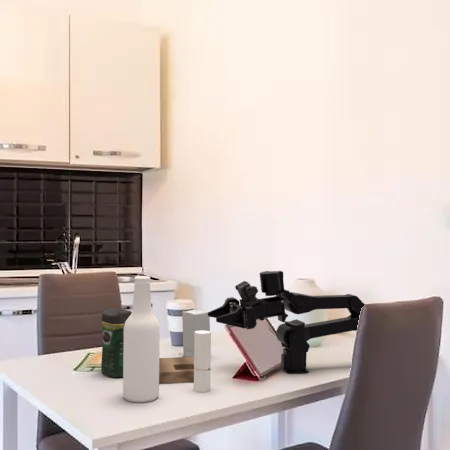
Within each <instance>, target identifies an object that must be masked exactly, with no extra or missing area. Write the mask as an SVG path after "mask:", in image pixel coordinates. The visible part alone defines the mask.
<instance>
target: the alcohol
mask: <svg viewBox="0 0 450 450" xmlns="http://www.w3.org/2000/svg"><path fill="white" fill-rule="evenodd" d="M133 279H134V282H133V284H134V287H133V288H134V289H133V297H132V298H133V299H132V300H133V301H132V309H131V312H132V313H131V315H130V316H129V317H128V319H127V320H126V322H125V325H124V353H123V377H122V378H123V379H122V381H123V382H122V384H123V385H122V395H123V398H124V399H125V400H126V401H128V402H131V403H136V404H138V403H142V404H143V403H149V402H152V401H155V400H157V399H158V396H159V395H160V384H159V358H160V331H161V330H160V329H161V327H160V324H159V323H160V322H159V320H158V318H157V317H156V316H155V315H154V313H153V311H152V310H153V309H152V297H151V286H150V285H151V277H150V276H148V275H136V276H135V277H133Z"/></svg>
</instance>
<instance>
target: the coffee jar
mask: <svg viewBox="0 0 450 450" xmlns="http://www.w3.org/2000/svg"><path fill="white" fill-rule="evenodd" d="M131 313H132V310H128V309H123V308H119V307H111V308H106V309H104V311H103V312H102V315H101V327H102V343H101V344H102V347H101V365H100V366H101V367H100V369H101V370H100V371H101V373H102V374H104V375H106V376H109V377H113V378H117V377H121V378H123V353H124V325H125V322H126V320H127V319H128V317H129V316H130V315H131Z"/></svg>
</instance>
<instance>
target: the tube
mask: <svg viewBox="0 0 450 450" xmlns="http://www.w3.org/2000/svg"><path fill="white" fill-rule="evenodd" d="M211 348H212V331H211V330H210V331H205V330H200V331H195V332H194V382H193V391H195V392H198V393H207V392H209V391H211V366H212V365H211V363H212V362H211V358H212V354H211V353H212V351H211V350H212V349H211Z"/></svg>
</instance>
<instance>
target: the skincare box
mask: <svg viewBox="0 0 450 450" xmlns="http://www.w3.org/2000/svg"><path fill="white" fill-rule="evenodd" d="M208 312H209V311H206V310H199V309H191V310H184V311H182V312H181V315H182V346H183V350H182V352H183V353H182V354H183V357H193V359H194V332H195V331H200V330H205V331H210V332H211V323H210V322H211V321H210V319H211V317H209V316H208Z"/></svg>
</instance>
